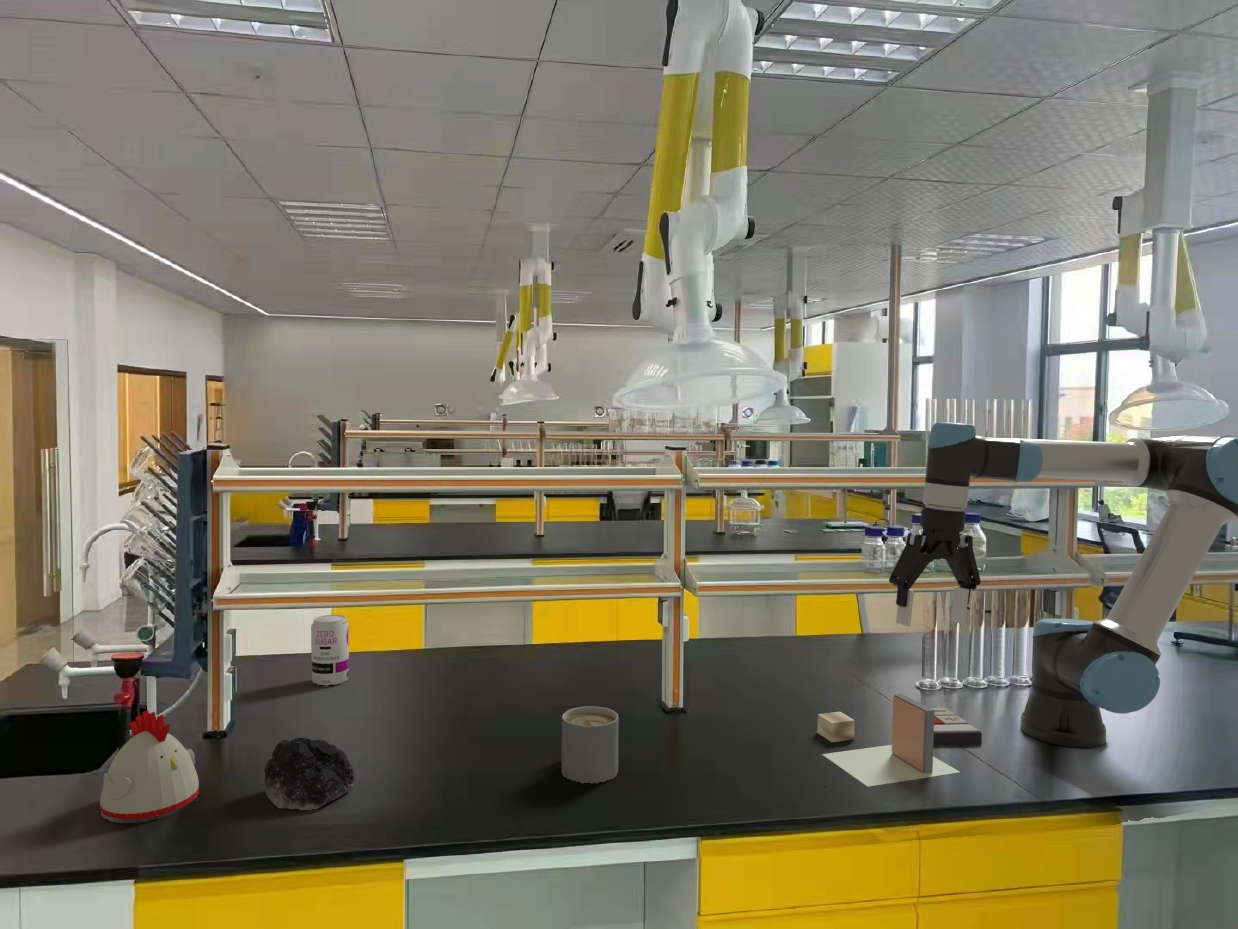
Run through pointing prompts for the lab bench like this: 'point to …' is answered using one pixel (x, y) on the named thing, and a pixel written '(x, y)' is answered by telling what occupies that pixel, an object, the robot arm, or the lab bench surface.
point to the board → (883, 766)
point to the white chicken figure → (149, 773)
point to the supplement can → (330, 649)
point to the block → (836, 726)
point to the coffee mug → (590, 744)
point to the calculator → (953, 729)
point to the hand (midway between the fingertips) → (930, 623)
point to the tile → (913, 732)
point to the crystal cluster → (307, 774)
